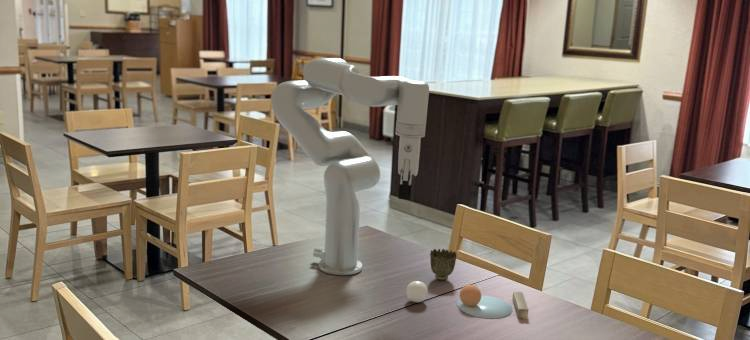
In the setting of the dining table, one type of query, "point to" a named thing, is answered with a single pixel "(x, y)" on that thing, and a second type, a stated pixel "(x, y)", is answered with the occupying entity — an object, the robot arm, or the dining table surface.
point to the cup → (442, 263)
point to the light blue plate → (487, 308)
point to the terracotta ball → (470, 295)
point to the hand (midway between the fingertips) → (404, 198)
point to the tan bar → (520, 305)
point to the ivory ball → (417, 291)
